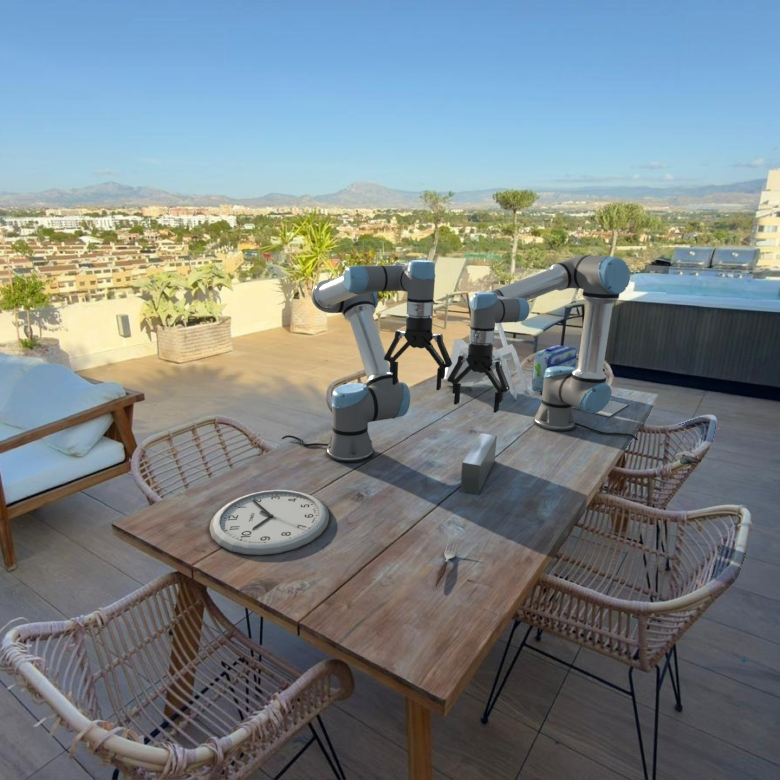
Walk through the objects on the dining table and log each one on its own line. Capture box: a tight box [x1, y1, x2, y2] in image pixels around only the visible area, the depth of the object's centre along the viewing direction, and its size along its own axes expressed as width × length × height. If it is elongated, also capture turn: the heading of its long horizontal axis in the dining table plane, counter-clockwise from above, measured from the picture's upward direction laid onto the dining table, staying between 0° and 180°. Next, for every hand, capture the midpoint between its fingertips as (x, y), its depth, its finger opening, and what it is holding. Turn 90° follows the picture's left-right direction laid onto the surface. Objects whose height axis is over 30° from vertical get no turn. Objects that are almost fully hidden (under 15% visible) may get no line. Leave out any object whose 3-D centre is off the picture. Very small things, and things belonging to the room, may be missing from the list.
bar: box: [460, 432, 498, 495], centre depth 160 cm, size 24×5×9 cm, turn 158°
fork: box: [435, 540, 459, 587], centre depth 117 cm, size 3×16×2 cm, turn 160°
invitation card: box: [573, 399, 629, 418], centre depth 226 cm, size 21×1×15 cm
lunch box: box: [531, 345, 577, 394], centre depth 245 cm, size 26×11×21 cm, turn 134°
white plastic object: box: [441, 323, 531, 400], centre depth 245 cm, size 37×45×31 cm
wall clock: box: [209, 489, 330, 556], centre depth 135 cm, size 30×2×30 cm
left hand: (416, 386), depth 157 cm, fingers open, 13 cm apart
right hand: (475, 407), depth 169 cm, fingers open, 13 cm apart
